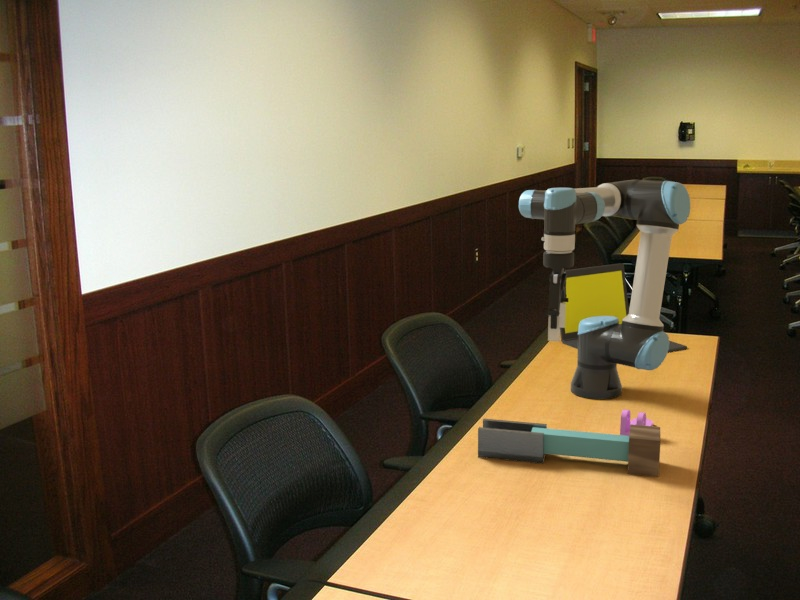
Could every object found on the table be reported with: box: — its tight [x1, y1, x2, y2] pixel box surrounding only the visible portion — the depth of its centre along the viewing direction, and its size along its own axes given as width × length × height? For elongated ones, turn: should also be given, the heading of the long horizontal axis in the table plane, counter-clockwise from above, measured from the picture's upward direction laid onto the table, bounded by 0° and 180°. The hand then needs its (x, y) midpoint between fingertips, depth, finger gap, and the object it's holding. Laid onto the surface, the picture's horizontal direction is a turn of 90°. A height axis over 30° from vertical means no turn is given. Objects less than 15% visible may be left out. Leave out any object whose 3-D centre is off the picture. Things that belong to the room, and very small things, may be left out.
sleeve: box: [477, 418, 548, 465], centre depth 207 cm, size 7×16×8 cm, turn 73°
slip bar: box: [531, 427, 629, 463], centre depth 202 cm, size 4×26×5 cm, turn 73°
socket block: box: [627, 424, 661, 478], centre depth 198 cm, size 9×7×9 cm
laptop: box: [560, 262, 688, 354], centre depth 302 cm, size 33×35×26 cm
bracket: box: [619, 408, 654, 436], centre depth 222 cm, size 13×6×7 cm, turn 147°
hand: (556, 333), depth 210 cm, fingers open, 13 cm apart
